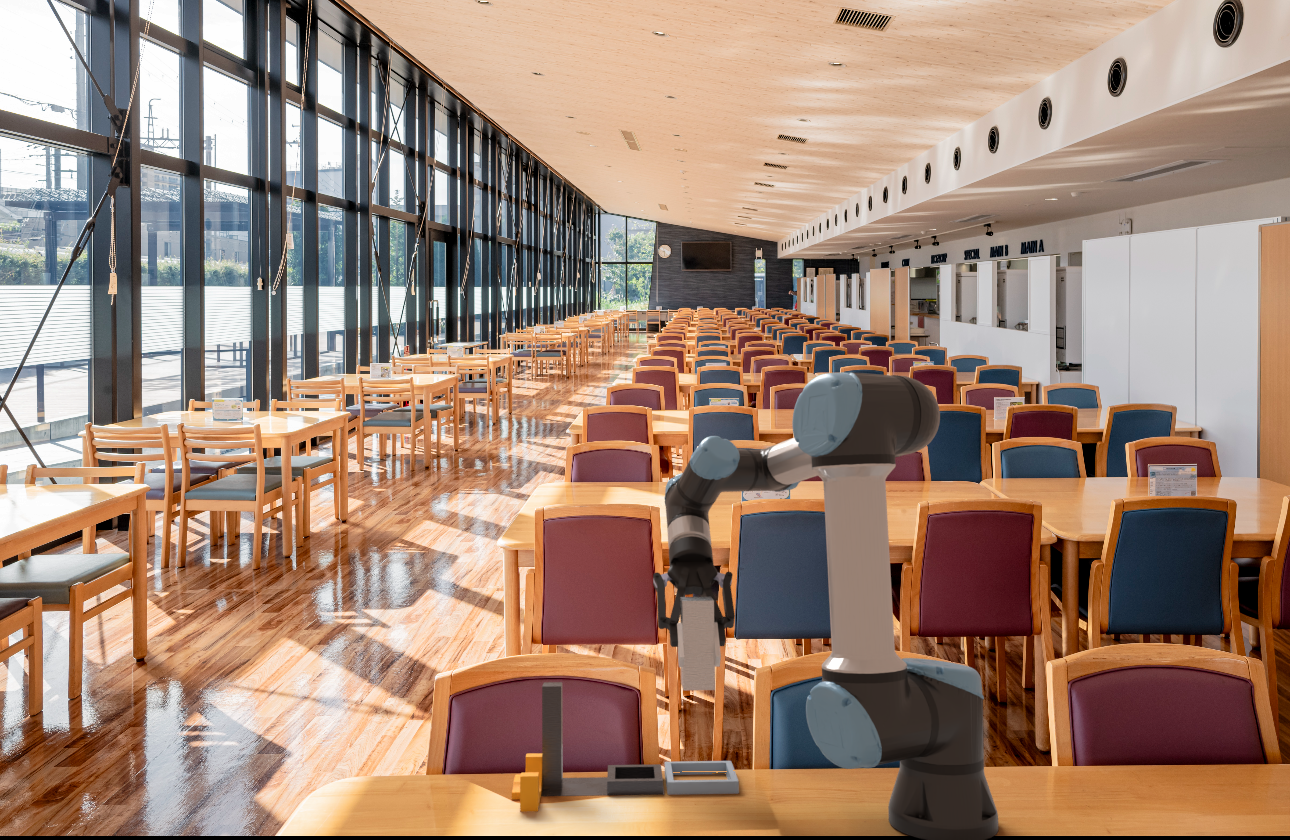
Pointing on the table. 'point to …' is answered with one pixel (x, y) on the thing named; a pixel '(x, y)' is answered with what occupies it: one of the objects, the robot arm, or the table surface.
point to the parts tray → (701, 785)
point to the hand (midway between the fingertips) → (699, 661)
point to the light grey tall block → (698, 643)
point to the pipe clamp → (529, 784)
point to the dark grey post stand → (615, 783)
